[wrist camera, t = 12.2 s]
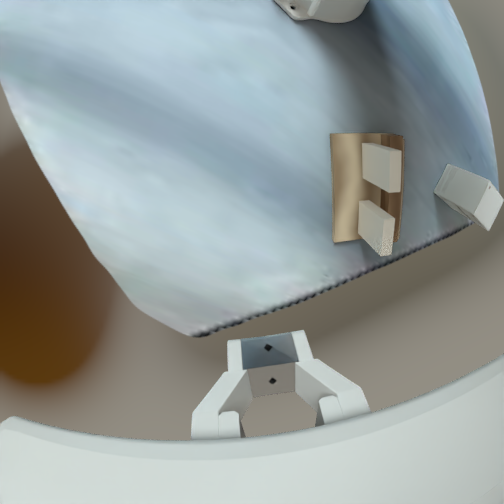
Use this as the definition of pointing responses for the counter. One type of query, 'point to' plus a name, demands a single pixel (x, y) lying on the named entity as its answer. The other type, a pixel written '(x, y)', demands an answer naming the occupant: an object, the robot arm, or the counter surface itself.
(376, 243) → the white rectangular block
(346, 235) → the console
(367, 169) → the block
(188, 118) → the counter surface
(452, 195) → the supplement box
